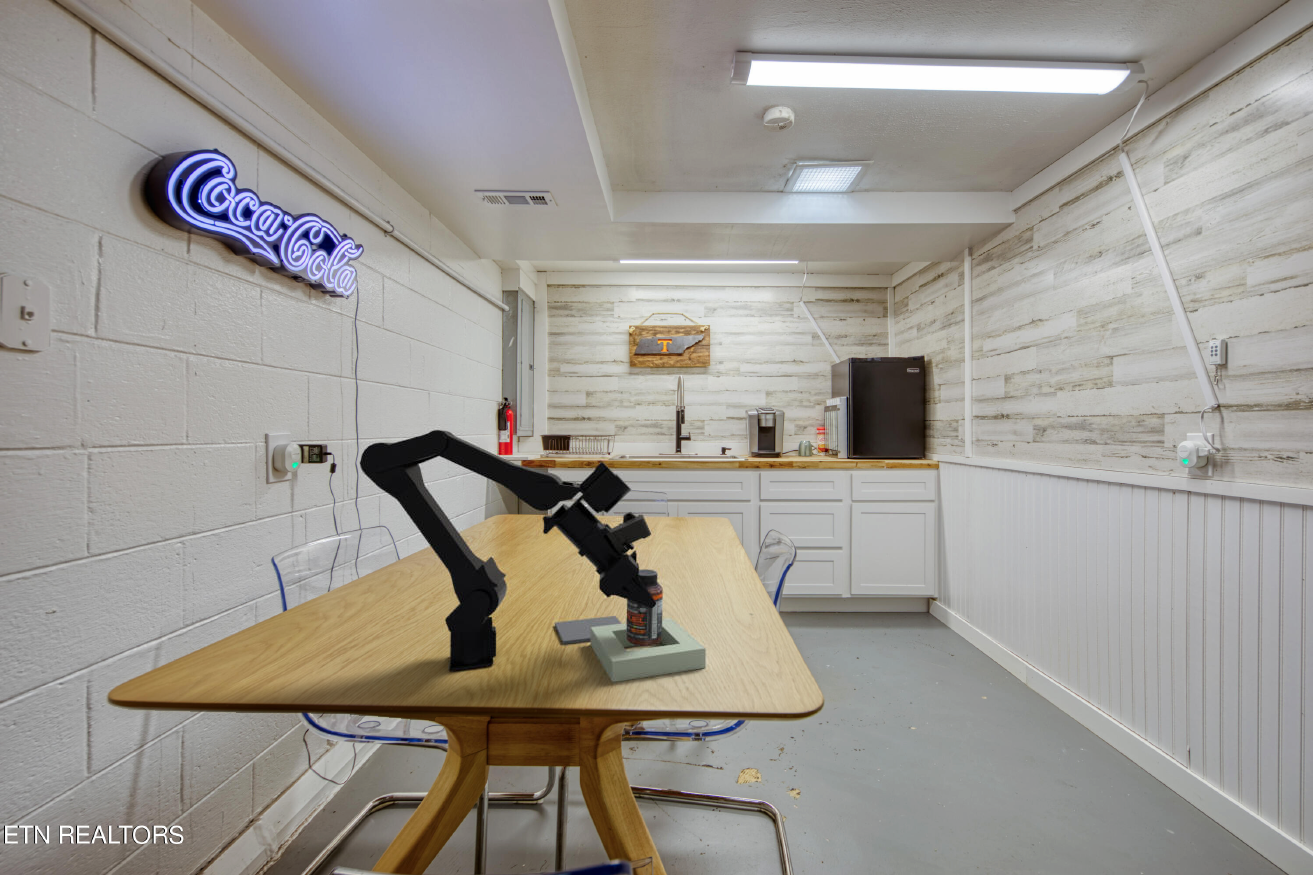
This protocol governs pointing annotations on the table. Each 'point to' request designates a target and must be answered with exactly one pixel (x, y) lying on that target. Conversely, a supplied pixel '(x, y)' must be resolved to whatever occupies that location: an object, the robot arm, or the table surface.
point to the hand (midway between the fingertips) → (653, 600)
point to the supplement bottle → (646, 614)
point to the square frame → (646, 652)
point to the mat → (581, 628)
